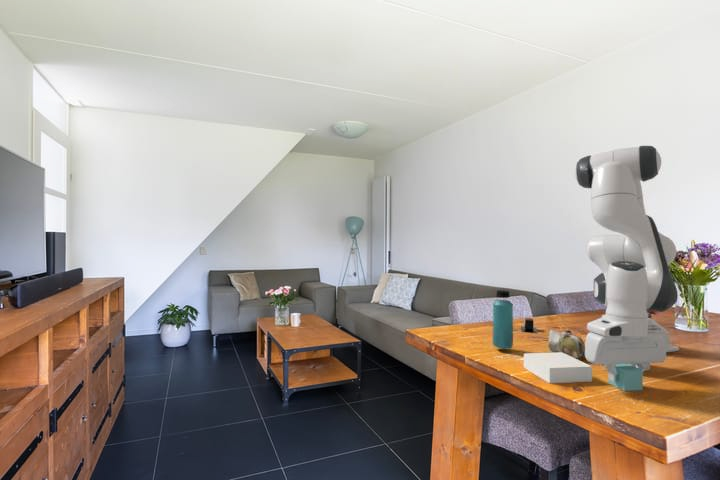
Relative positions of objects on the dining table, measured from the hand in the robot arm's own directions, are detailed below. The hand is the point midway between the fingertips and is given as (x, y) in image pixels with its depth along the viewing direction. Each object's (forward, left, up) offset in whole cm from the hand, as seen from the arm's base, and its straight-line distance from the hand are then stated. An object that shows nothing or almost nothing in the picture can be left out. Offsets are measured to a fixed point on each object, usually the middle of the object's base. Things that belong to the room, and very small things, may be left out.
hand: (625, 380), depth 96 cm
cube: (0, 0, -2) cm, 2 cm away
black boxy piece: (-9, -57, -2) cm, 58 cm away
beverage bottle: (+16, -32, -2) cm, 36 cm away
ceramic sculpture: (-2, -24, -2) cm, 24 cm away
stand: (+12, -10, -2) cm, 16 cm away
